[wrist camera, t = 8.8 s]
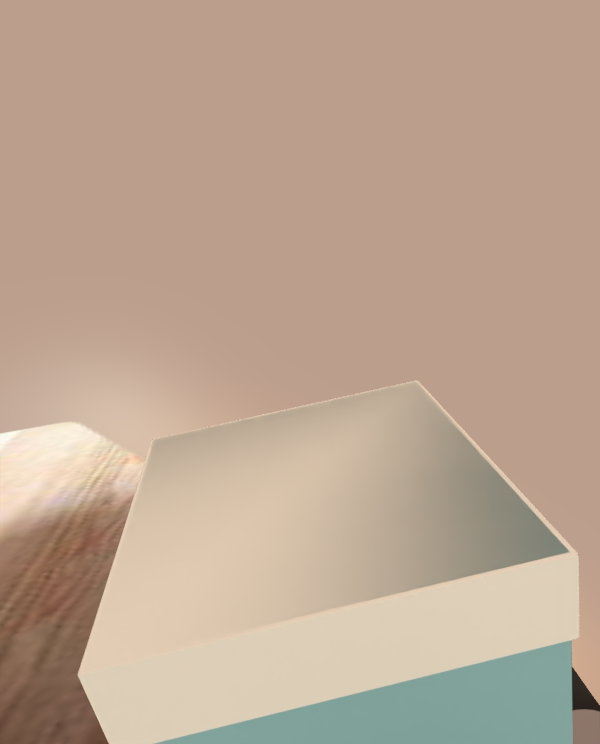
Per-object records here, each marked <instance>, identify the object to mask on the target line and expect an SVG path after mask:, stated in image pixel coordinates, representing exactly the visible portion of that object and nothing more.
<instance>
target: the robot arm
mask: <svg viewBox="0 0 600 744" xmlns="http://www.w3.org/2000/svg"><path fill="white" fill-rule="evenodd" d="M572 721H573V744H600V705H599V704H598V703H597V702H596V700H595V699H594V697H593V696H592V694H591V693H590V692H589V690H588V689H587V688H586V686H585V684H584V683H583V682H582V680H581V679H580V677H579V676H578V674H577V673H576V672H575V670H574V669H573V668H572Z"/></svg>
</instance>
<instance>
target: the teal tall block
mask: <svg viewBox="0 0 600 744" xmlns="http://www.w3.org/2000/svg"><path fill="white" fill-rule="evenodd" d="M578 638H579V554H578V553H577V552H576V551H575V550H574V549H573V548H572V547H571V546H570V545H569V544H568V543H567V541H566V540H565V539H564V538H563V537H562V536H561V535H560V534H559V533H558V532H557V530H556V529H555V528H554V527H553V526H552V525H551V524H550V523H549V522H548V521H547V520H546V519H545V518H544V516H543V515H542V514H541V513H540V512H539V511H538V510H537V509H536V508H535V507H534V506H533V505H532V504H531V502H530V501H529V500H528V499H527V498H526V497H525V496H524V495H523V494H522V493H521V492H520V491H519V489H518V488H517V487H516V486H515V485H514V484H513V483H512V482H511V481H510V480H509V479H508V478H507V476H506V475H505V474H504V473H503V472H502V471H501V470H500V469H499V468H498V467H497V466H496V465H495V463H493V461H492V460H491V459H490V458H489V457H488V456H487V455H486V454H485V453H484V452H483V451H482V450H481V448H480V447H479V446H478V445H477V444H476V443H475V442H474V441H473V440H472V439H471V438H470V436H469V435H468V434H467V433H466V432H465V431H464V430H463V429H462V428H461V427H460V426H459V425H458V424H457V423H456V422H455V420H454V419H453V418H452V417H451V416H450V415H449V414H448V413H447V412H446V411H445V410H444V408H443V407H442V406H441V405H440V404H439V403H438V402H437V401H436V400H435V399H434V398H433V396H432V395H430V393H429V392H428V391H427V390H426V389H425V388H424V387H423V386H422V385H421V384H420V383H419V381H412V382H408V383H403V384H399V385H394V386H390V387H385V388H381V389H377V390H372V391H368V392H363V393H358V394H354V395H350V396H345V397H340V398H336V399H332V400H327V401H323V402H318V403H313V404H309V405H304V406H300V407H296V408H291V409H286V410H282V411H277V412H273V413H269V414H264V415H260V416H255V417H250V418H246V419H242V420H237V421H232V422H228V423H224V424H219V425H215V426H210V427H205V428H201V429H196V430H192V431H187V432H183V433H178V434H174V435H169V436H165V437H160V438H157V439H152V441H151V444H150V448H149V451H148V454H147V457H146V460H145V463H144V466H143V470H142V473H141V476H140V479H139V482H138V485H137V489H136V492H135V495H134V498H133V501H132V504H131V508H130V511H129V514H128V517H127V520H126V523H125V526H124V530H123V533H122V536H121V539H120V542H119V545H118V549H117V552H116V555H115V558H114V561H113V564H112V568H111V571H110V574H109V577H108V580H107V583H106V587H105V590H104V593H103V596H102V599H101V602H100V605H99V609H98V612H97V615H96V618H95V621H94V624H93V628H92V631H91V634H90V637H89V640H88V643H87V647H86V650H85V653H84V656H83V659H82V662H81V665H80V669H79V672H78V677H79V679H80V682H81V684H82V686H83V688H84V690H85V693H86V695H87V697H88V699H89V701H90V704H91V706H92V708H93V710H94V712H95V715H96V717H97V719H98V721H99V723H100V726H101V728H102V730H103V732H104V734H105V737H106V739H107V741H108V743H109V744H573V721H572V658H571V657H572V653H571V640H574V639H578Z"/></svg>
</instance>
